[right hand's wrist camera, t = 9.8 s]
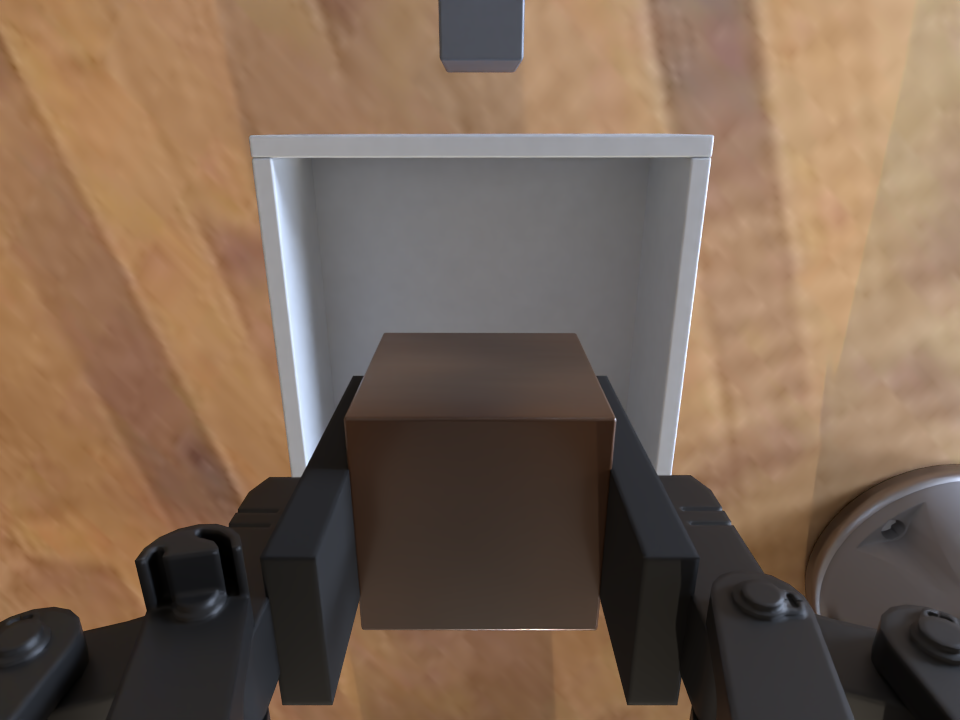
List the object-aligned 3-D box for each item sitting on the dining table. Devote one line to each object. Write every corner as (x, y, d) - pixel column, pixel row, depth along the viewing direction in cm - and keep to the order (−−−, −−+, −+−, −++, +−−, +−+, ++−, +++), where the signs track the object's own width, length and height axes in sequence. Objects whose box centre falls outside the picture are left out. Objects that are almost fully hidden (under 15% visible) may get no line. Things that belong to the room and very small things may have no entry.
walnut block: (576, 332, 14) (617, 417, 10) (566, 497, 16) (597, 631, 12) (383, 332, 14) (343, 417, 10) (392, 497, 16) (361, 631, 12)
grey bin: (252, -308, 18) (171, -466, 13) (708, -308, 18) (791, -464, 13) (329, 457, 27) (297, 527, 22) (632, 456, 27) (665, 526, 22)
